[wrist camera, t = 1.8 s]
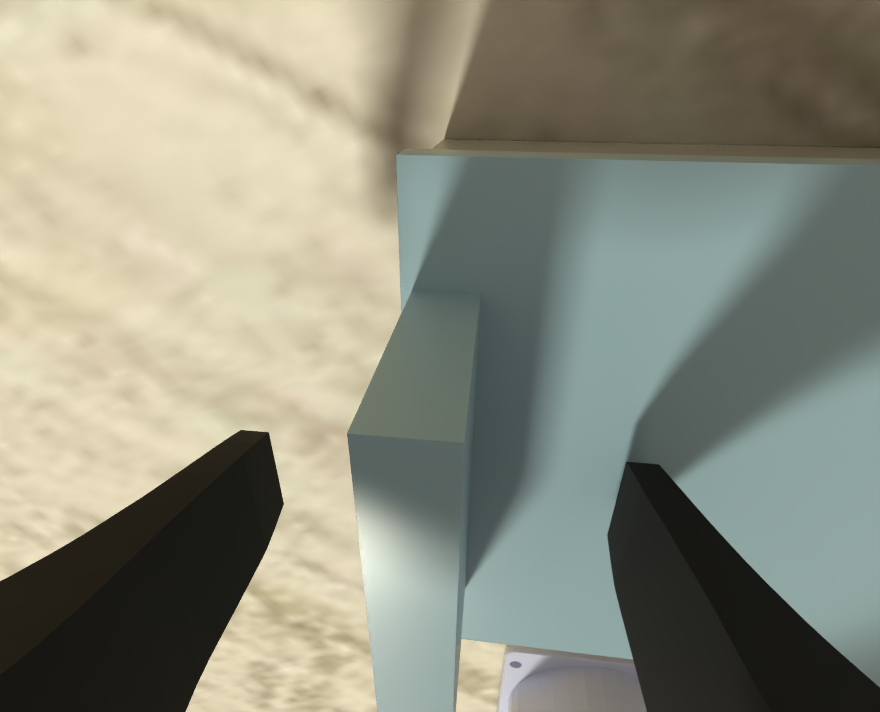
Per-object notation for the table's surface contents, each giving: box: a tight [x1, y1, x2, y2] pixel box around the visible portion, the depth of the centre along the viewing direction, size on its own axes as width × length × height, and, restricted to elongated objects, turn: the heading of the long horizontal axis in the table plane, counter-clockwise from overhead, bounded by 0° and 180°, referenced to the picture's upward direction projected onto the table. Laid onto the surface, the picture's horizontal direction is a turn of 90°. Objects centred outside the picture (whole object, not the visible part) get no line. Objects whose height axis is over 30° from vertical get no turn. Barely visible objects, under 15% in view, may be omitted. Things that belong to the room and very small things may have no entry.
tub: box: [432, 139, 880, 159], centre depth 12 cm, size 12×20×4 cm, turn 90°
